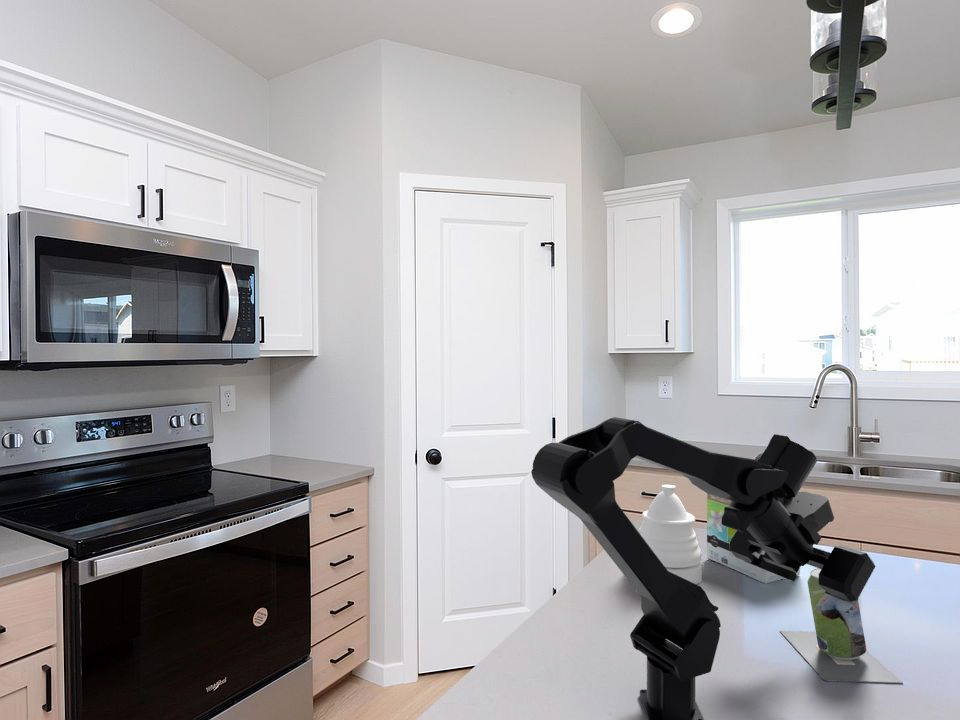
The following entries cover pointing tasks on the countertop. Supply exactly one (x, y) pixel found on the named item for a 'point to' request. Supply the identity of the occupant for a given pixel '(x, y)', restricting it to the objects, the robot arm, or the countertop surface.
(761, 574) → the tea box
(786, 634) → the tile
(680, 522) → the honey pot
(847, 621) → the beverage can
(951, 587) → the countertop surface
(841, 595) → the robot arm
